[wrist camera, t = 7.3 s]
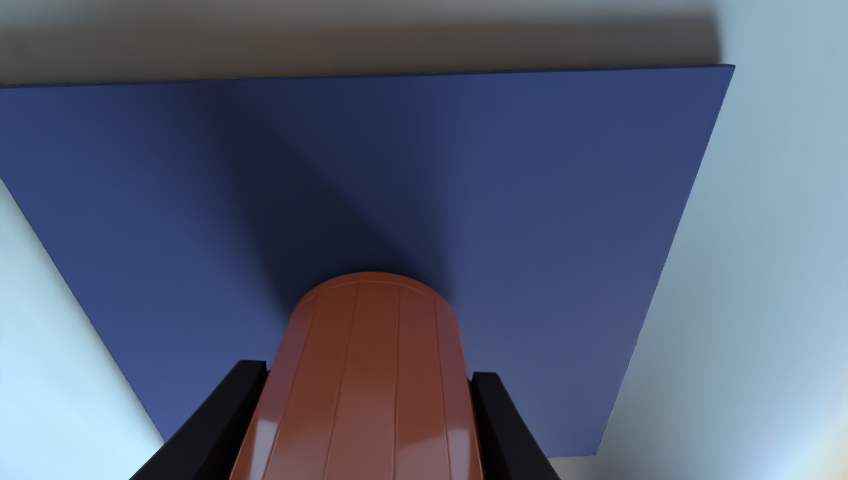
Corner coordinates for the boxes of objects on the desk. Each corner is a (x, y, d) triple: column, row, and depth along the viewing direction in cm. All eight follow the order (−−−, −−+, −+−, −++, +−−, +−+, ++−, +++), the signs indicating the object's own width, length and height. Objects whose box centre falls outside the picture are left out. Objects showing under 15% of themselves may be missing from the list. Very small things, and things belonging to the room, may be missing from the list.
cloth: (727, 63, 9) (736, 65, 8) (592, 448, 16) (595, 455, 16) (-42, 86, 8) (-56, 88, 8) (189, 468, 16) (186, 476, 16)
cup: (476, 277, 11) (540, 527, 5) (447, 400, 13) (473, 645, 8) (280, 263, 10) (149, 522, 5) (292, 393, 13) (214, 649, 8)
